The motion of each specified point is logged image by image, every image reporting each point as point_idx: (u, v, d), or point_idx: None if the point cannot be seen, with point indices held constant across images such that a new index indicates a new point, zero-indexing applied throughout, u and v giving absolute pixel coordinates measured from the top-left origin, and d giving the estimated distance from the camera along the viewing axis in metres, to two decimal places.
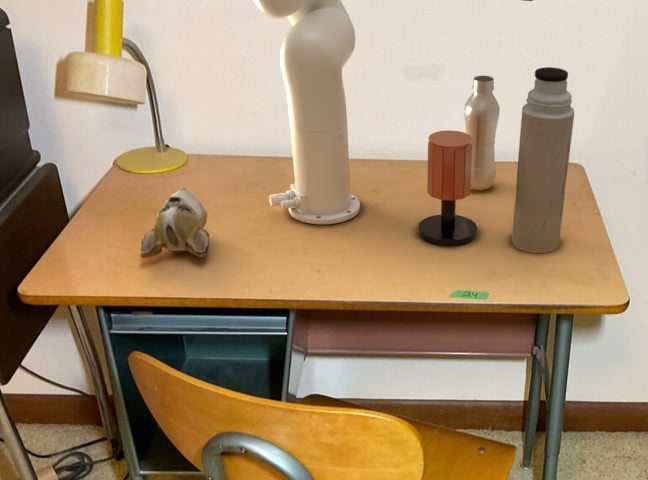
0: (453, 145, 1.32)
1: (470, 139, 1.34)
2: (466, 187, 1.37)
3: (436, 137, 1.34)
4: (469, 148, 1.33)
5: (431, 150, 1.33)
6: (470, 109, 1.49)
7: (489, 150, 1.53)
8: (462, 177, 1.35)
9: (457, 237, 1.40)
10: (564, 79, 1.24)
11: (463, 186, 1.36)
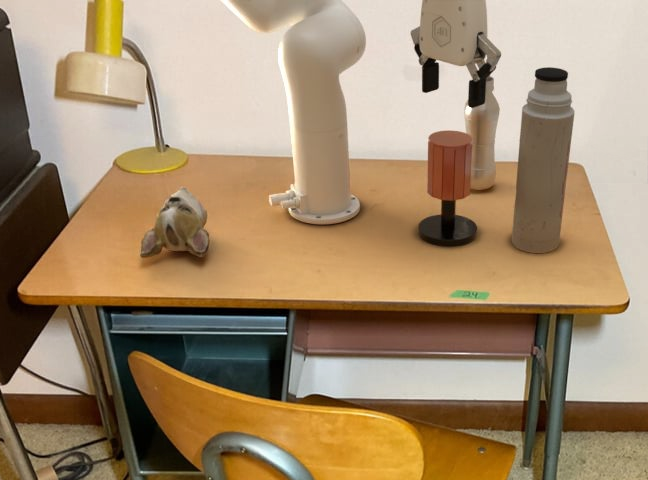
0: (453, 145, 1.32)
1: (470, 139, 1.34)
2: (466, 187, 1.37)
3: (436, 137, 1.34)
4: (469, 148, 1.33)
5: (431, 150, 1.33)
6: (470, 109, 1.49)
7: (489, 150, 1.53)
8: (462, 177, 1.35)
9: (457, 237, 1.40)
10: (564, 79, 1.24)
11: (463, 186, 1.36)
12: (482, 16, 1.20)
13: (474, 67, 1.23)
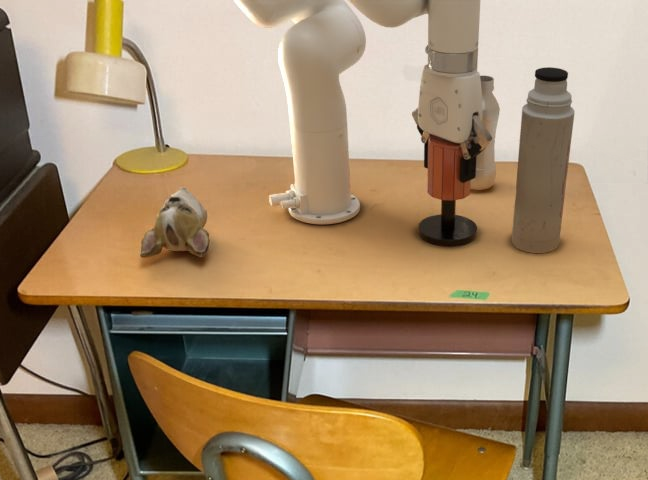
0: (453, 145, 1.32)
1: None
2: (466, 187, 1.37)
3: (436, 137, 1.34)
4: (469, 148, 1.33)
5: (431, 150, 1.33)
6: None
7: (489, 150, 1.53)
8: None
9: (457, 237, 1.40)
10: (564, 79, 1.24)
11: (463, 186, 1.36)
12: (477, 98, 1.27)
13: (466, 147, 1.31)
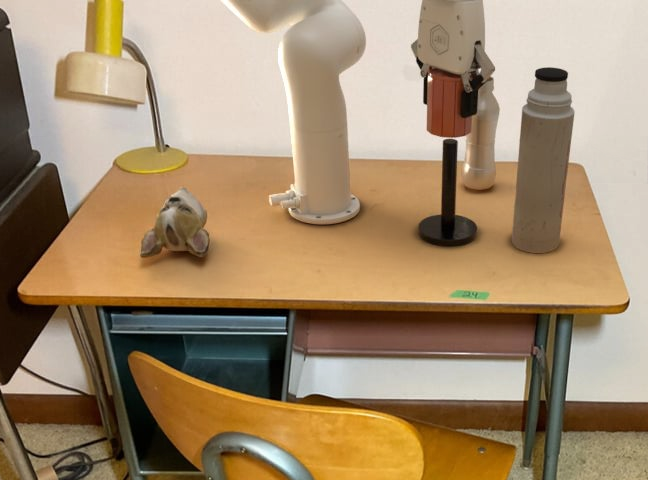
0: (454, 77, 1.25)
1: None
2: (467, 124, 1.31)
3: (436, 70, 1.28)
4: None
5: (431, 83, 1.27)
6: None
7: (489, 150, 1.53)
8: None
9: (457, 237, 1.40)
10: (564, 79, 1.24)
11: (464, 122, 1.30)
12: (480, 25, 1.21)
13: (468, 78, 1.25)
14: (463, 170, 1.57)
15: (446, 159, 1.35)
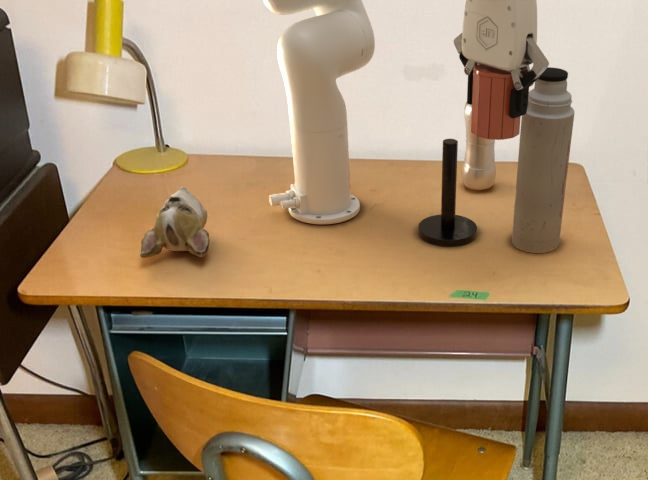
0: (503, 73, 1.15)
1: None
2: (516, 124, 1.20)
3: (482, 66, 1.18)
4: None
5: (477, 80, 1.17)
6: (470, 109, 1.49)
7: (489, 150, 1.53)
8: None
9: (457, 237, 1.40)
10: (564, 79, 1.24)
11: (513, 123, 1.20)
12: (532, 16, 1.11)
13: (518, 75, 1.14)
14: (463, 170, 1.57)
15: (446, 159, 1.35)
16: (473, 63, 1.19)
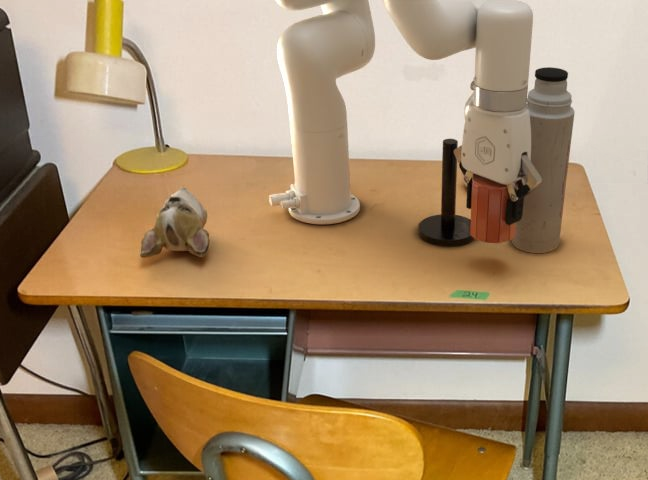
0: (500, 186, 1.24)
1: None
2: (512, 229, 1.29)
3: (480, 177, 1.27)
4: (516, 188, 1.26)
5: (476, 191, 1.26)
6: None
7: None
8: None
9: (457, 237, 1.40)
10: (564, 79, 1.24)
11: (509, 228, 1.29)
12: (526, 137, 1.20)
13: (514, 188, 1.23)
14: None
15: (446, 159, 1.35)
16: (472, 173, 1.28)
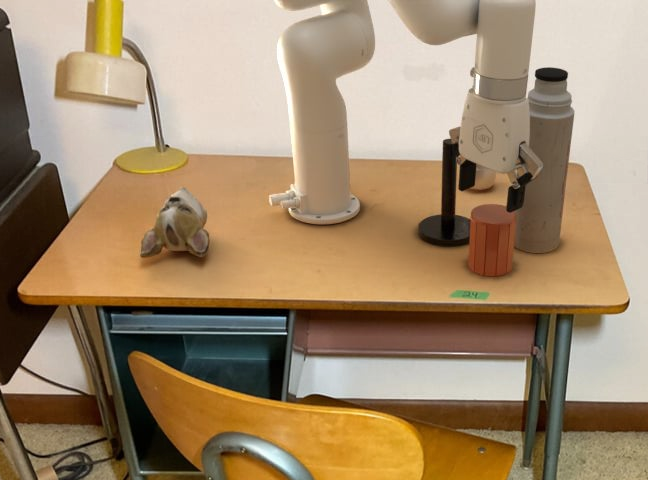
0: (497, 222, 1.27)
1: (514, 215, 1.30)
2: (509, 262, 1.33)
3: (479, 212, 1.30)
4: (513, 224, 1.29)
5: (474, 226, 1.29)
6: None
7: None
8: (505, 253, 1.31)
9: (457, 237, 1.40)
10: (564, 79, 1.24)
11: (506, 262, 1.32)
12: (525, 126, 1.19)
13: (515, 175, 1.22)
14: None
15: (446, 159, 1.35)
16: None
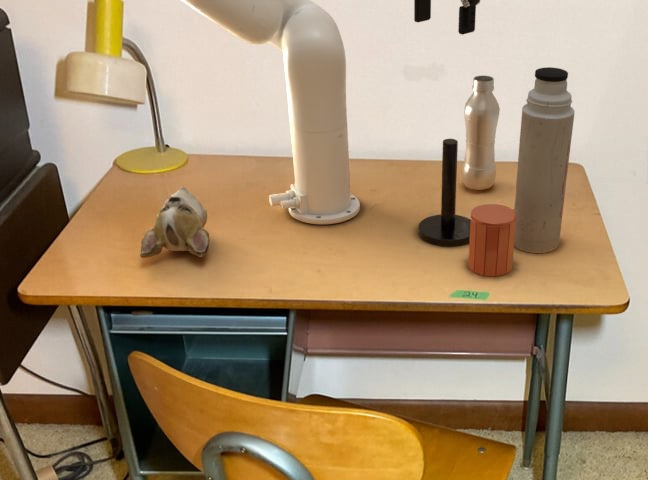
0: (497, 222, 1.27)
1: (514, 215, 1.30)
2: (509, 262, 1.33)
3: (479, 212, 1.30)
4: (513, 224, 1.29)
5: (474, 226, 1.29)
6: (470, 109, 1.49)
7: (489, 150, 1.53)
8: (505, 253, 1.31)
9: (457, 237, 1.40)
10: (564, 79, 1.24)
11: (506, 262, 1.32)
12: None
13: None
14: (463, 170, 1.57)
15: (446, 159, 1.35)
16: None
